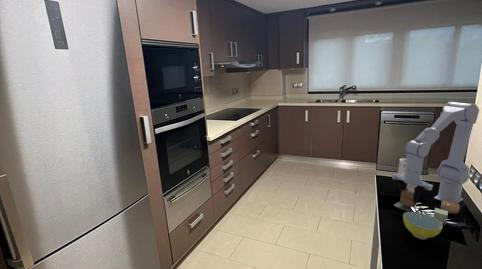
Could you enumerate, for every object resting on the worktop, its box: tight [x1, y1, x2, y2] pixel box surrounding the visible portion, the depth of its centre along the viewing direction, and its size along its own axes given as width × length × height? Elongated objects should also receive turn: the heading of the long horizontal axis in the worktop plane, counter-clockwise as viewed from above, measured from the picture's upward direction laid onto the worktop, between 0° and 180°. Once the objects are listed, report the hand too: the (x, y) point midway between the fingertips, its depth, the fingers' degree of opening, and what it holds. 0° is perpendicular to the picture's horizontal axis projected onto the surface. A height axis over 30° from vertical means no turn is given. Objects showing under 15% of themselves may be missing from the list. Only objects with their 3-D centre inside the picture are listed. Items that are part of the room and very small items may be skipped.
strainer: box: [397, 157, 407, 175], centre depth 130 cm, size 7×7×15 cm
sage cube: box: [433, 207, 449, 225], centre depth 101 cm, size 4×4×4 cm
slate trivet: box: [393, 201, 410, 212], centre depth 111 cm, size 8×8×1 cm
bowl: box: [402, 211, 444, 240], centre depth 91 cm, size 11×12×6 cm
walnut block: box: [399, 188, 418, 207], centre depth 110 cm, size 4×4×6 cm
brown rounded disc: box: [440, 200, 461, 215], centre depth 109 cm, size 6×6×3 cm
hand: (408, 199), depth 111 cm, fingers closed on walnut block, 4 cm apart
